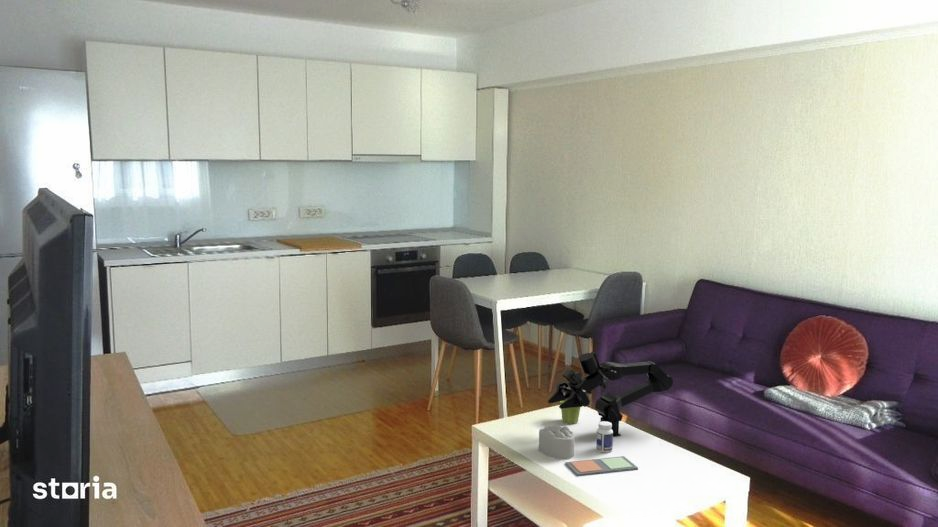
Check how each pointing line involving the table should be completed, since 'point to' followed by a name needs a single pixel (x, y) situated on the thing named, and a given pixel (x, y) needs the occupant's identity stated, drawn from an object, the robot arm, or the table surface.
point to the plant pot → (570, 414)
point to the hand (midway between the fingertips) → (553, 404)
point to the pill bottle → (604, 437)
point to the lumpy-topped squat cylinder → (556, 442)
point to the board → (601, 466)
